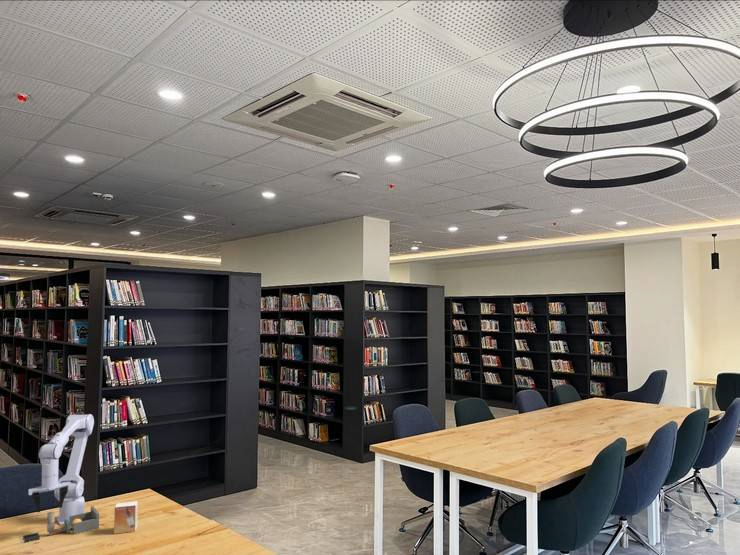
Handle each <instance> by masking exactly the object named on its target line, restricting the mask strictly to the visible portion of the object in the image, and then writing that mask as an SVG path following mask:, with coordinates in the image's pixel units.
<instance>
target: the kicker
mask: <svg viewBox="0 0 740 555" xmlns="http://www.w3.org/2000/svg"><path fill="white" fill-rule="evenodd" d="M46 517H47V520H46V522H47V523H46V532H47V533H48V535H49V536H52V535H56V534H61V533H64V532H65V533H67V534H68V533H71V529H72V527H71V524H70V522H69V521H68V519H67V520H64V524H63V526H62V527H57V528H55V511H49V512H47V514H46Z"/></svg>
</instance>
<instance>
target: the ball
mask: <svg viewBox="0 0 740 555" xmlns="http://www.w3.org/2000/svg"><path fill="white" fill-rule="evenodd" d="M77 522H82V521H81V519H75V520H73V521H72V523H71V529H73V530H74V523H77Z"/></svg>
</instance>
